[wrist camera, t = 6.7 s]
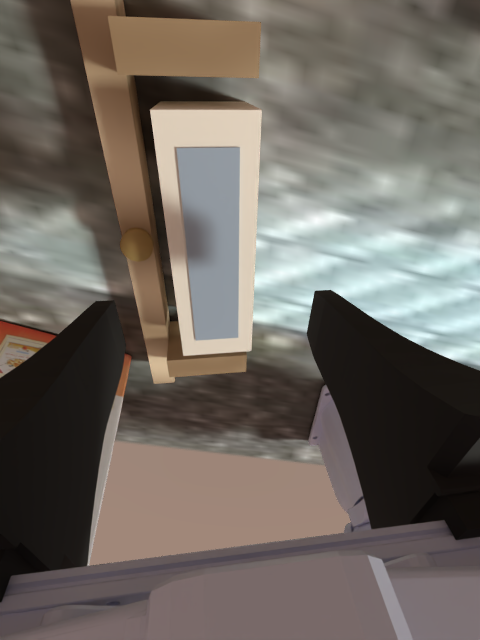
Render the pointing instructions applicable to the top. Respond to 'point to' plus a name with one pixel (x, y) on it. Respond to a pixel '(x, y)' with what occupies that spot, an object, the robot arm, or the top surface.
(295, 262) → the top surface
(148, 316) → the ledge
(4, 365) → the cracker box
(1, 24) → the top surface
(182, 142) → the cream block
